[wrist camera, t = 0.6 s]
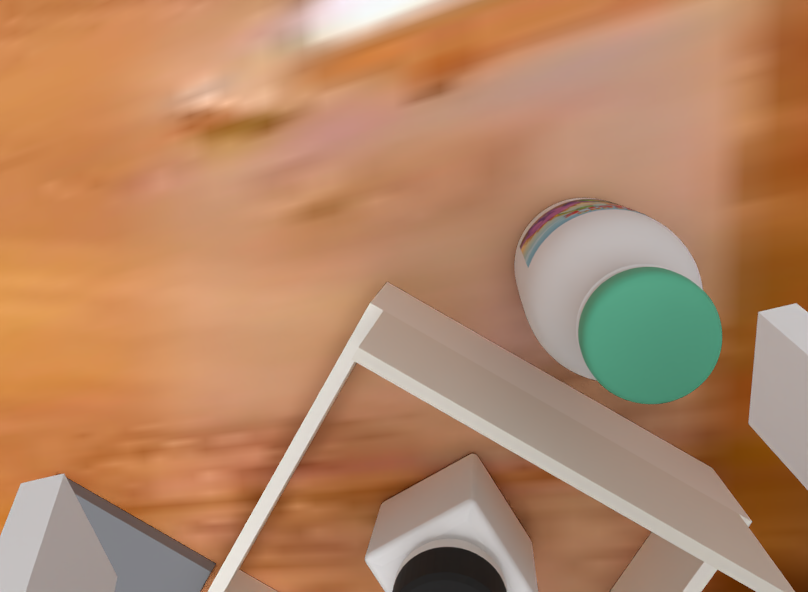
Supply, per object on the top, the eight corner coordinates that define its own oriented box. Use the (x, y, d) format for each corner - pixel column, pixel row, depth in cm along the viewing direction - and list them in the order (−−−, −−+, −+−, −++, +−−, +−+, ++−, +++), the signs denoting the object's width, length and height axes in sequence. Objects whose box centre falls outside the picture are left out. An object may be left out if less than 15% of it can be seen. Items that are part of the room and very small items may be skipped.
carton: (712, 468, 46) (819, 611, 31) (518, 742, 50) (532, 981, 36) (387, 281, 46) (341, 337, 31) (223, 572, 51) (115, 740, 36)
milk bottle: (642, 329, 45) (764, 458, 25) (510, 324, 46) (530, 446, 26) (652, 198, 44) (788, 226, 24) (516, 195, 44) (540, 221, 25)
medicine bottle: (378, 502, 49) (345, 611, 37) (474, 449, 47) (471, 544, 36) (437, 592, 49) (423, 727, 38) (534, 542, 48) (550, 666, 36)
